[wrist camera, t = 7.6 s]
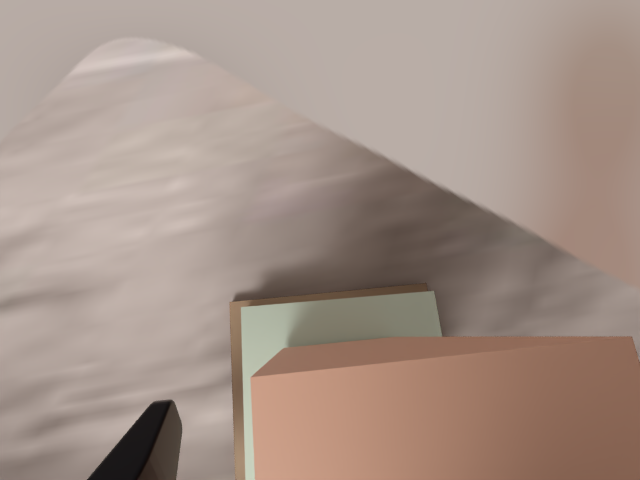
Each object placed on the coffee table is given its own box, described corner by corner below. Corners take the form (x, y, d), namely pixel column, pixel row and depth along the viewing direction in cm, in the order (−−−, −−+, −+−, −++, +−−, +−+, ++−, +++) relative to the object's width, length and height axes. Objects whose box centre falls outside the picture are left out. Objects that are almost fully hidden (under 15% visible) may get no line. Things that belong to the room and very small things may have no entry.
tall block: (413, 461, 15) (786, 858, 4) (292, 476, 15) (277, 983, 3) (395, 336, 16) (632, 336, 5) (283, 347, 16) (250, 377, 4)
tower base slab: (454, 495, 18) (467, 508, 16) (243, 523, 17) (237, 540, 15) (417, 287, 20) (426, 283, 19) (235, 305, 20) (229, 301, 18)
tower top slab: (458, 499, 16) (473, 514, 15) (252, 523, 16) (246, 541, 14) (424, 295, 19) (434, 290, 17) (246, 310, 18) (240, 307, 17)
